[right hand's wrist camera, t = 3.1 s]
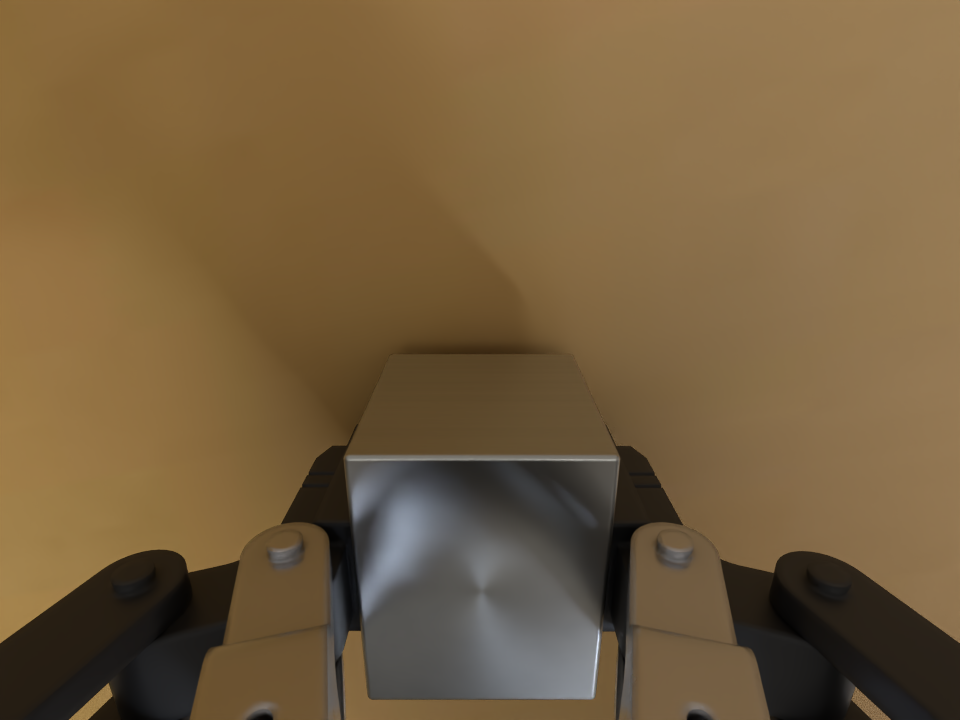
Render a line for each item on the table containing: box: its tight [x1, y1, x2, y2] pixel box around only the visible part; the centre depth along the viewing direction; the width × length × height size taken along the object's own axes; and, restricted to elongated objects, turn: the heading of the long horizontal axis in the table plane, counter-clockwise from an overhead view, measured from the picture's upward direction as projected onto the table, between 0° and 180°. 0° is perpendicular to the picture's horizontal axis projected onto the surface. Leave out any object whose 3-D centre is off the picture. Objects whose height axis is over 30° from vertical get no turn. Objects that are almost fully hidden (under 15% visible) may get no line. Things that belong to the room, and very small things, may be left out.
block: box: [344, 354, 620, 700], centre depth 11 cm, size 4×5×4 cm
